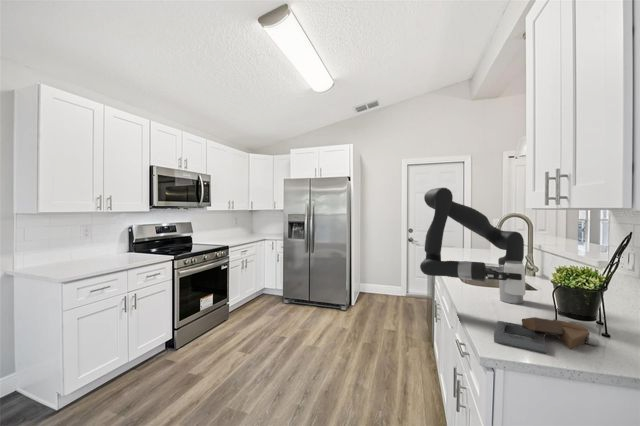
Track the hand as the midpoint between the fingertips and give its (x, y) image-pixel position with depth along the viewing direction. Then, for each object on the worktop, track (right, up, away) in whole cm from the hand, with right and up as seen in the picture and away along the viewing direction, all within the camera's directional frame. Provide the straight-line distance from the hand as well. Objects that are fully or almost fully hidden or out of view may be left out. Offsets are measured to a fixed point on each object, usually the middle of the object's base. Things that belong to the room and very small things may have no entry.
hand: (521, 275), depth 101 cm
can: (-2, -7, +1) cm, 8 cm away
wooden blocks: (+3, -19, -13) cm, 23 cm away
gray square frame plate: (-9, -19, -12) cm, 24 cm away
